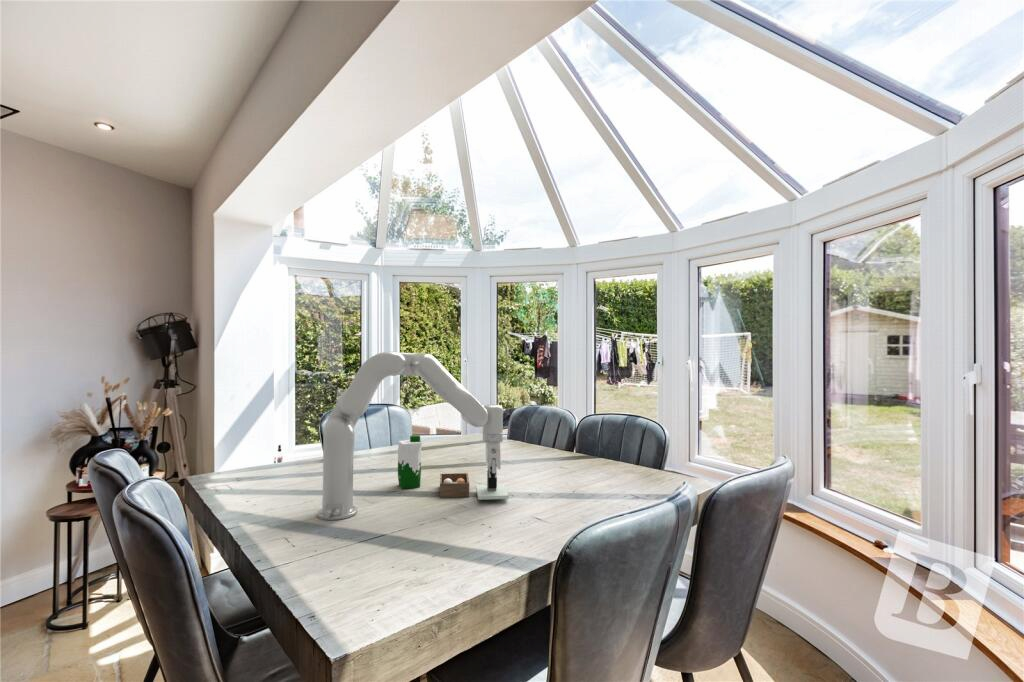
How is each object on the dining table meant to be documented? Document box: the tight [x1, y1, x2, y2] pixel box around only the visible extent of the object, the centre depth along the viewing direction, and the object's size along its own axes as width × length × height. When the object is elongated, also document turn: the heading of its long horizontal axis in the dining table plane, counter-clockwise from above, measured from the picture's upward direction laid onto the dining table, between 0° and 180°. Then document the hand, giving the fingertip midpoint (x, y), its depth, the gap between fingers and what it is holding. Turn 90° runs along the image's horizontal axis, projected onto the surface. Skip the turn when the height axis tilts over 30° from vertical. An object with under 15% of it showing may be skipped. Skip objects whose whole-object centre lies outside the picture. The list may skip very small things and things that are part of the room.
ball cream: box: [443, 478, 452, 484], centre depth 187 cm, size 4×4×4 cm
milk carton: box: [397, 434, 423, 490], centre depth 191 cm, size 9×9×20 cm
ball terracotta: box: [456, 478, 465, 483], centre depth 187 cm, size 4×4×4 cm
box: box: [439, 472, 470, 498], centre depth 184 cm, size 15×11×5 cm
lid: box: [475, 469, 510, 501], centre depth 177 cm, size 15×11×8 cm
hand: (491, 486), depth 177 cm, fingers closed on lid, 3 cm apart
